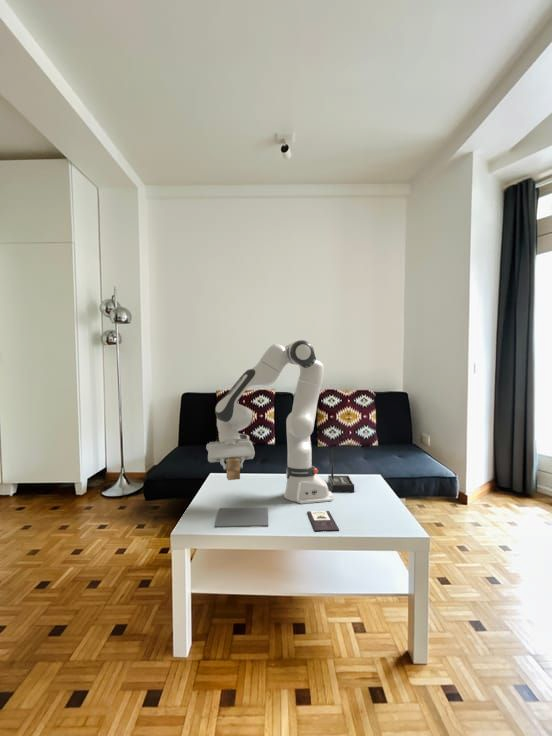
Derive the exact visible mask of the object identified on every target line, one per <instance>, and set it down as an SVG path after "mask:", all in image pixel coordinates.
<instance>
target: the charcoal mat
mask: <svg viewBox="0 0 552 736" xmlns="http://www.w3.org/2000/svg"><path fill="white" fill-rule="evenodd" d="M251 526H261V527H269V512H268V507H267V506H266V507H263V506H262V507H260V506H259V507H220V508H219V510H218V513H217V517H216V522H215V524H214V528H250V527H251Z"/></svg>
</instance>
